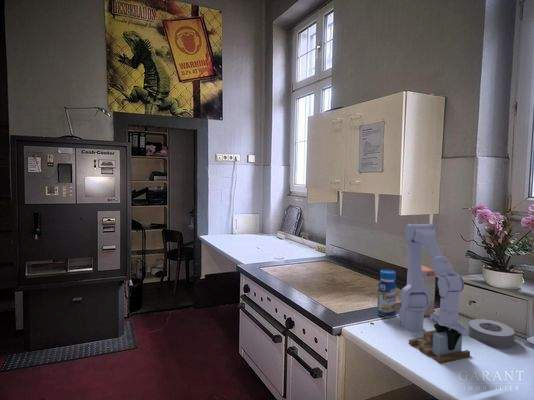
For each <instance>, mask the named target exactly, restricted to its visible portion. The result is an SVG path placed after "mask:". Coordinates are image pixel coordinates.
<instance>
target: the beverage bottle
mask: <svg viewBox="0 0 534 400" xmlns="http://www.w3.org/2000/svg"><path fill="white" fill-rule="evenodd" d="M379 278H380V280H379V281H378V284H377V287H378V288H377V308H376V313H377V315H378V314H379V315H378V316H380V315H382V316H385V317H384V318H389V319H390V318H395V317H396V316H397V296H398V291H397V288H398V285H397V282H396V281H395V280H396V278H397V272H396V271H395V270H393V269H392V270H391V269H381V270H380V271H379ZM382 316H381V317H382Z"/></svg>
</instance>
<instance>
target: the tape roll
mask: <svg viewBox="0 0 534 400" xmlns="http://www.w3.org/2000/svg"><path fill="white" fill-rule="evenodd" d="M467 329H468V330H469V334H468V336H467V337H469V338H471V339H473V340H475V341H478V342H480V343H481V344H483V345H485V346H488V347H490V348H495V349H511V348H513V347H514V346H515V335H516V332H515V330H514V329H513V328H512V327H511V326H508V325H507V324H504V323H503V322H500V321H496V320H491V319H486V318H485V319H484V318H483V319H482V318H475V319H471V320H469V322H468V327H467Z"/></svg>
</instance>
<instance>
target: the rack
mask: <svg viewBox="0 0 534 400" xmlns="http://www.w3.org/2000/svg"><path fill="white" fill-rule="evenodd" d="M418 339H423V336H422V337H418V338H412V339H408V345H410V346H412V347H413V348H414V349H416V350H418V351H419V352H421V353H423V354H424V355H425V356H427V357H429V358H430V359H432V360H434V361H435V362H437V363H438V364H441V365H442V364H446V363H447V364H448V363H451V362H454V361H455V362H456V361H460V360H464V359H468V358H472V356H471V351H470V350H468V349H465V350H461V351H460V352H455V353H450V354H445V355H441V356H436V355H435V354H433V353H432V351H433V344H429V345H424V346H419V345H418Z"/></svg>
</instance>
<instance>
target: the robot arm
mask: <svg viewBox="0 0 534 400" xmlns="http://www.w3.org/2000/svg"><path fill="white" fill-rule="evenodd" d="M436 237H437V231H436V229H435V226H434V225H433V224H432V223H425V224H424V223H421V224H420V223H414V224H413V223H408V224H407V225H406V227H405V228H404V243H405V244H406V247H407V271H408V285H407V284H406V285H405V286H403V287H402V289H401V294H400V304H401V306H400V309H399V311H398V324H399V325H400V326H402V327H403V328H405V329H406V330H408V331H411V332H422V331H424V322H425V321H424V318H425V316H424V310H426V308H427V307H428V306H429V303H430V300H429V297H428V291H427V289H425V288H424V287H423V286H422V271H421V265H422V247H423V246H424V248H425V250H426V251H427V253H428V254H429V256H430V257H431V266H432V268H433V270H434V271H435V273H436V278H437V286H438V293H439V296H440V303H439V306H440V307H439V314H436V313H434V314H430V316H429V319H430V321H435V322H436V323H434V325H433V327H434V330H436V331H437V333H440V332H445V331H446V333H447V337H448V350H454V349H455V346H456V344H457V341H458V340H459V338H460V337H461V335H462V337H469V336H468V334H469V330H468V328H466V327H465V326H464V325H463V324H461V323H460V322H459V312H460V311H459V309H460V307H459V306H460V292H462V291H463V290H464V289H465V282H464V279H463V277H462V275H460V274H458V272H456V271H455V270H454V268H453V266H452V265H451V263H450V261H449V259H448V258H447V256H445V255H444V256H443V254H442V252H441V250H440V247H439V245H438V242H437V240H436Z"/></svg>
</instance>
